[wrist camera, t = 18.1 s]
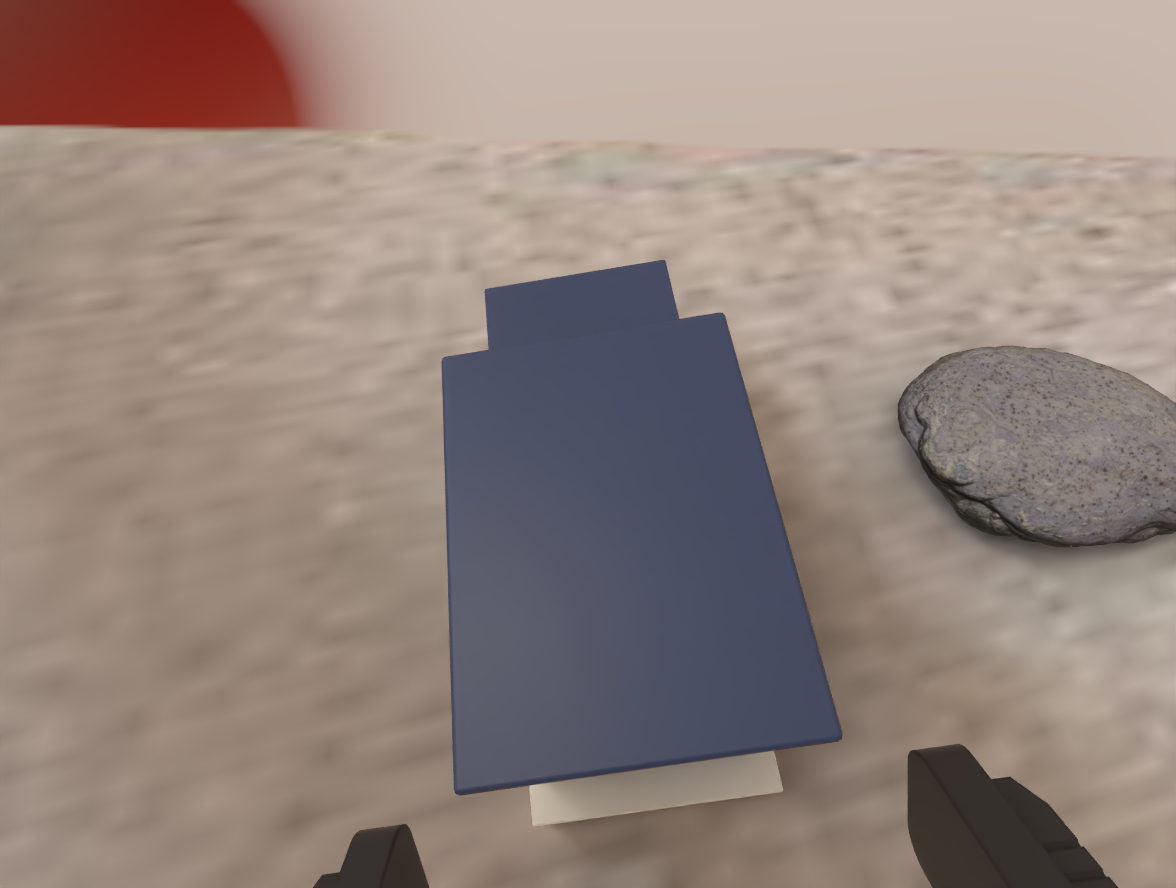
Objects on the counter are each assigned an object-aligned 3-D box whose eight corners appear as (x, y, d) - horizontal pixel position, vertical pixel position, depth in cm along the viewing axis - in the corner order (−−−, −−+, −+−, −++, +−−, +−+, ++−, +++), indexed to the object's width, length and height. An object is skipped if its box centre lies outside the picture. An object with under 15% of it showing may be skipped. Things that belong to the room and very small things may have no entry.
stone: (907, 334, 22) (931, 292, 20) (1183, 403, 20) (1240, 363, 18) (864, 506, 19) (887, 477, 18) (1176, 606, 17) (1242, 586, 15)
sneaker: (771, 788, 16) (884, 821, 8) (543, 820, 17) (440, 882, 9) (671, 347, 23) (681, 123, 15) (506, 373, 23) (426, 167, 15)
